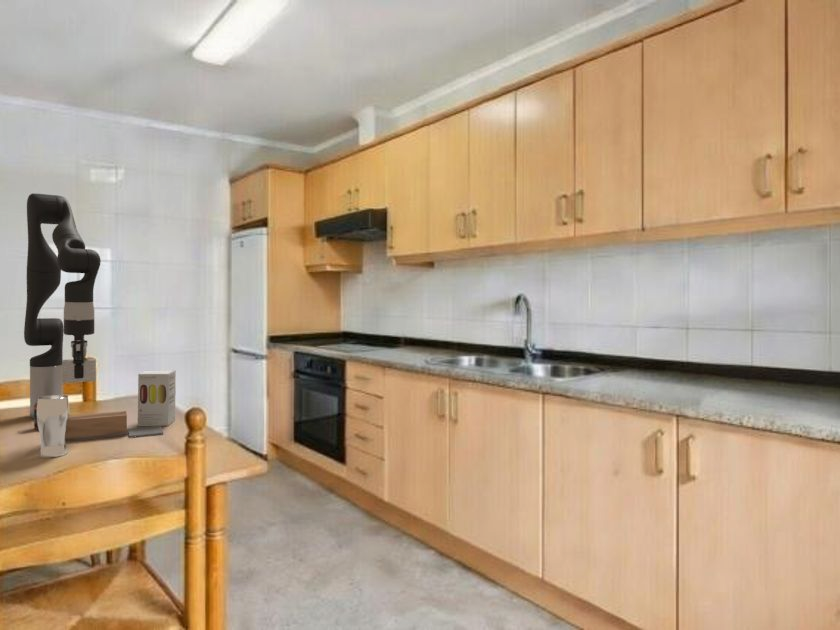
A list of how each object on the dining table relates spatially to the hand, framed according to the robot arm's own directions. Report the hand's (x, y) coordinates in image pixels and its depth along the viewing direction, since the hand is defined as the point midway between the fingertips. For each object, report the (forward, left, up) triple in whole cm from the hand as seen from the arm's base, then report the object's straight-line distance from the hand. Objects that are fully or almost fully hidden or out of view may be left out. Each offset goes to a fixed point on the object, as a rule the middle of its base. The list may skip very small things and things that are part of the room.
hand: (79, 376), depth 156 cm
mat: (+2, +17, -18) cm, 25 cm away
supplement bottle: (-18, -10, -18) cm, 27 cm away
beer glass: (+17, -5, -18) cm, 25 cm away
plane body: (0, +3, -18) cm, 18 cm away
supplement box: (-10, +21, -18) cm, 29 cm away
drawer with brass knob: (0, 0, -1) cm, 1 cm away
